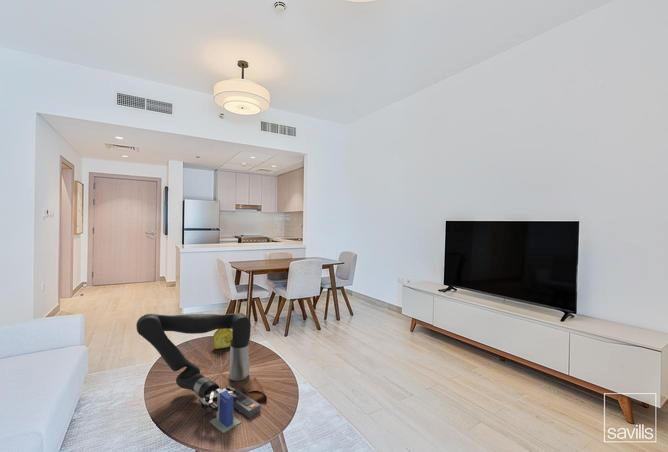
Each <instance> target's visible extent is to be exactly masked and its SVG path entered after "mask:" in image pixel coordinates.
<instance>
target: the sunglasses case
mask: <svg viewBox="0 0 668 452" xmlns="http://www.w3.org/2000/svg"><path fill="white" fill-rule="evenodd" d="M240 388H241V389H242V392H243V394H245V395H247V396H248V397H250V398H251V399H253V400H254V401H256V402H257V403H259V404H261V403H266V402H267V400H268V398H267V395H266V394H265V391H264V390H263V388H262V386H261V384H260V381H258V379H257V378H256V377H253V378H252V379H250V380H249V381H247V382H246V383H244V385H242V386H240Z"/></svg>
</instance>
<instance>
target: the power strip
mask: <svg viewBox="0 0 668 452" xmlns="http://www.w3.org/2000/svg"><path fill="white" fill-rule="evenodd" d="M234 389H235V395H236V396H237V401H236V402H233V409H236V410H237V411H238V412H240V413H241V414H242V415H244V416H245V417H247V418H248V419H250V418H252V417H253V416H255V415H257V414H258V413H259V412H261V403H257V402H256V401H254V400H253V399H251V398H250V397H248V396H247V395H245V393H244V392H243V391H240V390H239V389H237V388H234ZM213 412H214V411H213V410H212V409H209V410H208V411H206V412H204V413H203V414H202V416H203V417H206V416H208V415H209V414H211V413H213Z"/></svg>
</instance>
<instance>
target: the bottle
mask: <svg viewBox="0 0 668 452" xmlns="http://www.w3.org/2000/svg"><path fill="white" fill-rule="evenodd" d="M232 339H233V330H232V329H216V331H215V332H214V333H213V337H212V344H213V348H214V349H215V350H216V349H217V350H218V349H224V348H225V349H226V348H229V347H230V346H231V340H232Z"/></svg>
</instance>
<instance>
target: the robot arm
mask: <svg viewBox="0 0 668 452" xmlns="http://www.w3.org/2000/svg"><path fill="white" fill-rule="evenodd" d="M251 324H252V323H251V320H250V318H249V317H248V316H247V315H245V314H244V313H242V312H235V313H225V314H215V313H214V314H211V313H210V314H209V313H206V314H205V313H199V314H198V313H192V314H191V313H189V314H177V315H176V314H175V315H173V314H172V315H170V314H168V315H167V314H158V313H157V314H156V313H147V314H144V315H142V316H140V318H138V320H137V321H136V325H135V327H136V331H137V333H138V335H139V336H141V337H142V338H144V339H145V340H146V341H147V342H148V343H150V344H151V346H152V347H153V348H154V349H155V350H156V351H157V352H158V353H159V355H160V356H161V357H162V359H163V361H164V362H165V363H166V365H167V366H168V367H169V368H170V370H171V371H172V372H177V371H180V370H182V369H183V368H184V369H183V371H181V372H180V373H179V374H178V375H177V377H176V378H175V383H176V385H177V386H178V387H180V388H181V389H184V390H189V391H192V392H193V393H195V395H196V396H197V397H198V404H197V405H198V406H199V407H200V408H201V409H202V410H203V411H207V410H213V412H216V413H217V411H218V405H217V398H218V391H220V390H222V389H224V390H226V391H227V392H229V393H231V394H232V395H233V396H234V402H236V401H237V396H236V395H235V388H234V387H232V386H230V385H228V384H227V385H226V386H225V387H224V388H221V387H220V385H218V384H217V383H216V382H214V381H213V380H211V379H210V378H208V377H206V376H204V375H203V374H201V369H200V368H199V367H198V366H197V365H196V364H194V363H193V362H191V361H190V360H188V359H187V358H186V356H185V355H184V354H183V353H182V352H181V350H180V349H179V348H178V347H177V346H176V345H175V344H174V343H173V341H171V340H170V339H169V338H168V335H167V334H166V333H165V332H175V333H181V334H188V335H189V334H190V335H193V334H194V335H195V334H199V335H200V334H206V333H209V332H213V331H215V330H216V331H217V330H218V329H230V330H232V340H231V345H230V346H229V347H230V349H229V351H230V353H229V354H230V355H229V356H230V357H229V374H228V375H229V380H231V381H232V382H234V381H235V382H240V381H243V380H245V379H247V378H248V376H249V375H250V360H251V359H250V358H251V357H249V346H250V345H249V342H250V340H251V332H252V331H251V330H252V327H251V326H252V325H251Z"/></svg>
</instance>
